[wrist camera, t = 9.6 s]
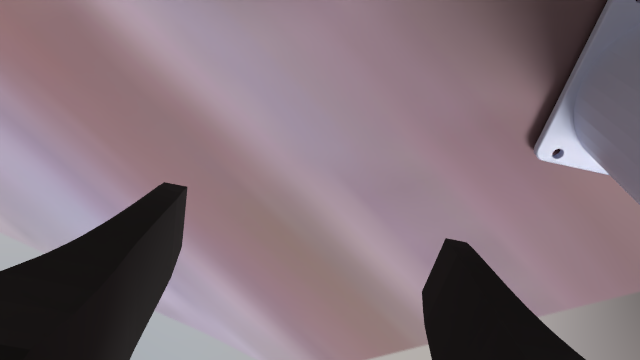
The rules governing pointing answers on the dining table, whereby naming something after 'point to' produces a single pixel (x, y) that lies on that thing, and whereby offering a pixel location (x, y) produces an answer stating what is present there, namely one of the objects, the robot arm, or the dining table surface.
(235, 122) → the dining table surface
